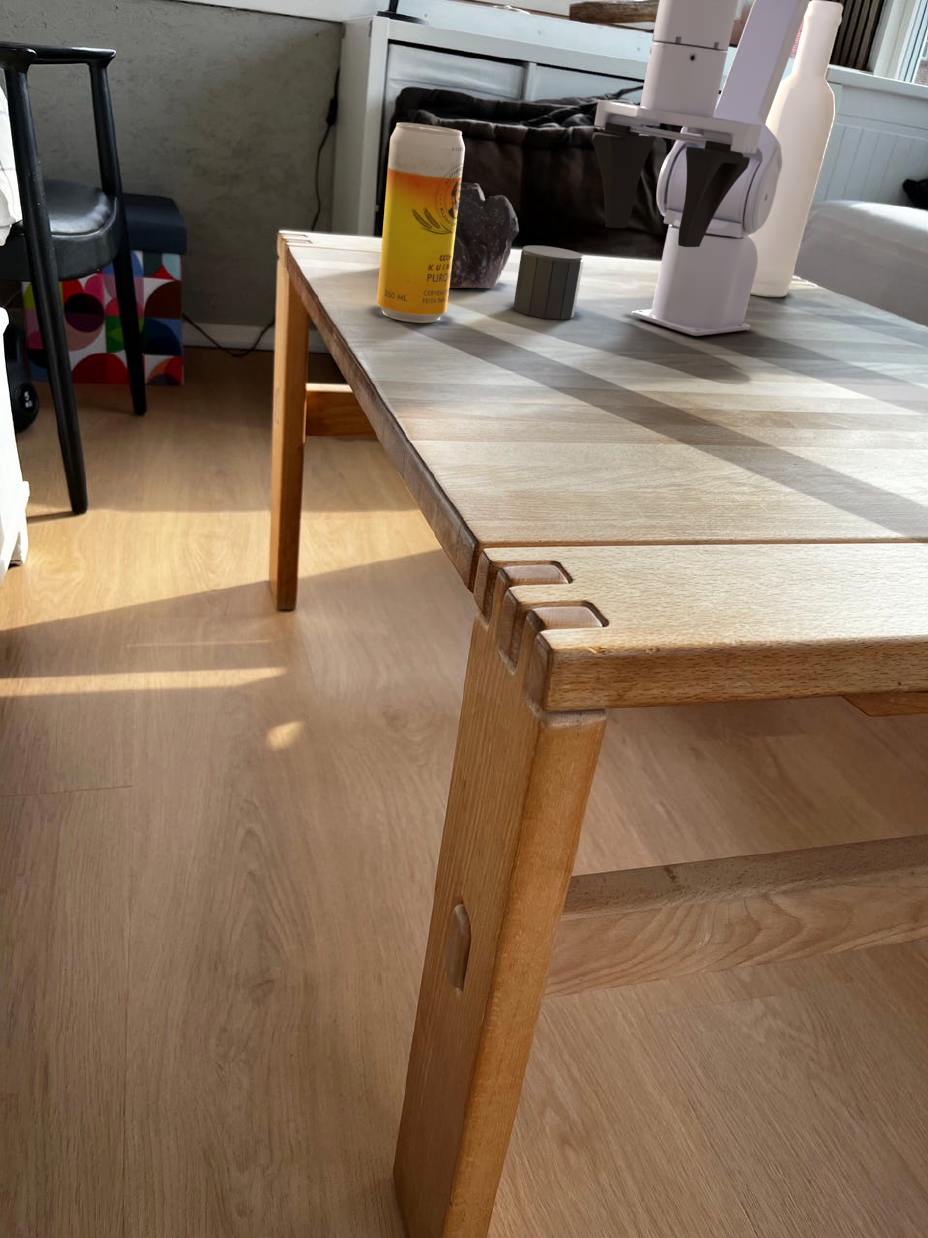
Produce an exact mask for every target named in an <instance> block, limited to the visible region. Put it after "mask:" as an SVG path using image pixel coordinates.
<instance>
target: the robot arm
mask: <svg viewBox="0 0 928 1238" xmlns="http://www.w3.org/2000/svg"><path fill="white" fill-rule="evenodd" d="M739 1H740V0H659V2H658V6H657V12H656V18H655V22H654V28H653V29H654V30H653V32H652V33H653V34H652V39H651V45H650V50H649V55H648V61H647V66H646V71H645V76H644V81H643V82H644V83H643V88H642V93H641V98H640V103H639V105H638V104H632V103H625V102H619V101H613V100H605V99H598V101H597V107H596V111H595V112H596V113H595V118H594V125H593V126H595V127H600V128H604V129H602V132H593V133H592V140H591V142H592V145H593V148H594V151H595V153H596V157H597V161H598V165H599V169H600V174H601V179H602V180H601V181H602V187H603V198H604V216H605V217H604V218H605V227H607V228H610V229H627V227H628V225H629V222H630V220H631V216H632V211H633V207H634V202H635V198H636V193H637V189H638V184H639V181H640V177H641V175H642V172H643V169H644V166H645V164H646V161H647V159H648V156H649V154H650V153H651V150H652V148H653V146H654V144H655V141H656V137H659V138H664V139H668V140H669V139H670V140H673V141H675V142H674V144H673V146H672V148H671V150H670V152H669V153H668V154H667V155H666V157H665V159H664V161H663V163H662V166H661V169H660V172H659V176H658V179H657V186H656V205H657V207H658V209H659V212H660V215H662V216H663V217H664V218H663V219H664V220H663V224H666V225H668V228H667V233H666V237H665V242H664V247H663V250H662V251H663V252H662V255H661V256H662V257H661V260H660V261H661V262H660V266H659V271H658V276H657V280H656V285H655V291H654V295H653V300H652V304H651V308H649V309H640V310H639V309H638V310H632V311H631V316H632V317H634V318H637V319H641V320H644V321H647V322H650V323H653V324H655V325H658V326H662V327H665V328H669V329H671V330H675V331H677V332H681V333H683V334H687V335H688V336H689V335H690V336H694V337H699V336H708V335H717V334H726V333H733V332H742V331H749V330H750V329H751V325H750V324H749V323H745V318H746V313H747V309H748V305H749V301H750V298H751V297H750V296H751V294H750V293H751V289H752V285H753V281H754V277H755V273H756V270H757V264H758V255H757V250H756V246H755V244H754V242H753V241H752V239H751V238H750V237H749V236H748V235H751V233H755V232H756V231H757V230H758V229H759V228H761V227H762V226H763V225H764V223H765V221H766V220H767V217H768V215H769V213H770V210H771V207H772V204H773V201H774V197H775V192H776V187H777V181H778V178H779V174H780V171H781V168H782V153H781V146H780V143H779V142H778V140H777V138H776V137H775V136H774V135H773V133H772V132H771V131H770V130H769V128H768V127H767V126H766V125H765V123H766V121H767V118H768V115H769V112H770V109H771V107H772V104H773V101H774V98H775V96H776V93H777V90H778V87H779V85H780V82H781V81H782V79H783V76H784V73H785V71H786V68H787V65H788V62H789V60H790V58H791V57H790V56H791V54H792V51H793V48H794V46H795V43H796V40H797V38H798V34H799V32H800V29H801V26H802V24H803V22H804V15H805V13H806V11H807V9H808V5H809V2H811V0H753V2H752V5H751V8H750V12H749V14H748V17H747V18H746V19H747V20H746V23H745V25H744V28H743V30H742V33H741V37H740V39H739V42H738V44H737V47H736V50H735V53H734V56H733V59H732V61H731V63H730V67H729V70H728V72H727V75H726V78H725V80H724V84H723V87H722V89H721V92H720V88H721V84H722V79H723V75H724V70H725V65H726V61H727V56H728V52H729V47H730V42H731V37H732V33H733V28H734V23H735V20H736V14H737V10H738V5H739ZM719 93H720V95H719ZM718 97H719V98H718ZM661 124H665V125H673V126H679V127H682V128H681V130H680V132H676V131H671V130H666V129H659V128H654V127H660V126H661ZM649 126H651V127H649ZM652 126H654V127H652Z"/></svg>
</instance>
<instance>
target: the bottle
mask: <svg viewBox="0 0 928 1238" xmlns="http://www.w3.org/2000/svg"><path fill="white" fill-rule="evenodd" d="M843 10H844V6H843V4H842V3H841V2H835V1H827V0H810V2H809V4H808V7H807V10H806V13H805V15H804V18H803V26H802V29H801V33H800V37H799V41H798V46H797V50H796V54H795V58H794V62H793V66H792V70H791V73H790V74H789V75H788V76H786V77H785V78H784V79H783V80H781V82H780V85H779V87H778V90H777V93H776V96H775V98H774V101H773V104H772V107H771V109H770V112H769V115H768V118H767V121H766V123H765V125H766V126H767V127H768V128H769V130H770V131H771V132H772V133H773V135H774V136H775V137H776V138H777V140H778V142H779V143H780V146H781V153H782V168H781V171H780V174H779V178H778V181H777V187H776V192H775V197H774V201H773V204H772V207H771V210H770V213H769V215H768V217H767V220H766V221H765V223H764V225H763V226H762V227H761V228H759V229H758V230H757V231H756V232H755V233H751V235H748V236H749V237H750V238H751V239H752V241H753V242H754V244H755V246H756V250H757V255H758V264H757V270H756V273H755V277H754V281H753V285H752V289H751V293H750V295H751V296H758V297H767V298H783V297H785V296H786V295H788V292H789V288H790V285H791V283H792V281H793V277H794V273H795V267H796V263H797V258H798V255H799V252H800V248H801V244H802V241H803V236H804V233H805V229H806V225H807V221H808V218H809V214H810V210H811V207H812V204H813V199H814V196H815V192H816V187H817V185H818V180H819V176H820V173H821V170H822V166H823V161H824V158H825V153H826V152H827V151H826V150H827V146H828V143H829V139H830V136H831V132H832V129H833V124H834V121H835V117H836V102H835V101H836V100H835V93H834V91H833V90H832V88H831V87H830V85H829V83H828V81H827V79H826V75H827V72H828V68H829V64H830V60H831V56H832V53H833V49H834V45H835V41H836V37H837V33H838V29H839V26H840V25H841V23H842V20H843V17H842V13H843Z"/></svg>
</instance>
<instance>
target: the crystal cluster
mask: <svg viewBox="0 0 928 1238" xmlns="http://www.w3.org/2000/svg"><path fill="white" fill-rule="evenodd" d="M519 230H520V229H519V223H518V217H517V215H516V212H515V210H514V207H513V206H512V204H511V202H510V201H509V199H508V198H507V197H506V196H505V195H500V194H497V195H494V196H492V195H490V196H489V197H487V198H486V199H485V195H484V191H483V190H482V189H481V187H480V184H479V183H476V182H475V183H471V182H461V188H460V196H459V205H458V214H457V223H456V232H455V240H454V249H453V258H452V267H451V276H450V285H449V289H450V288H451V289H467V288H469V289H476V288H478V289H495V288H496V285H497V284H498V282H499V280H500V278H501V275H502V271H503V270H504V269H505V267H506V264H507V263H508V260H509V258H510V256H511V252H512V243H513V241H514V240H515V238H516V237H517V236H518V233H519V232H520V231H519Z"/></svg>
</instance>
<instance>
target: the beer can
mask: <svg viewBox="0 0 928 1238" xmlns="http://www.w3.org/2000/svg"><path fill="white" fill-rule="evenodd" d="M462 135H463V132H462V131H461V130H458V129H453V128H449V127H443V126H437V125H430V124H423V123H415V122H414V123H413V122H396V125H395V128H394V130H393V132H392V134H391V136H390V139H389V149H388V150H389V151H388V163H387V173H386V174H387V175H386V187H385V198H384V199H385V200H384V212H383V213H384V214H383V226H382V238H381V251H380V263H379V275H378V285H377V286H378V287H377V298H376V303H377V305H378V307H380V309H381V311H382V314H383V315H384V316H386V317H387V318H390V319H393V320H397V321H401V322H407V323H416V324H428V323H429V324H430V323H431V324H432V323H436V322H438V321H440V318H441V316H443V315H444V314H446V312H447V310H448V302H449V292H450V288H449V285H450V276H451V267H452V258H453V249H454V240H455V232H456V223H457V214H458V205H459V196H460V188H461V183H462V180H463V179H462V177H463V170H464V161H465V151H466V147H465V143H464V140H463V136H462Z"/></svg>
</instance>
